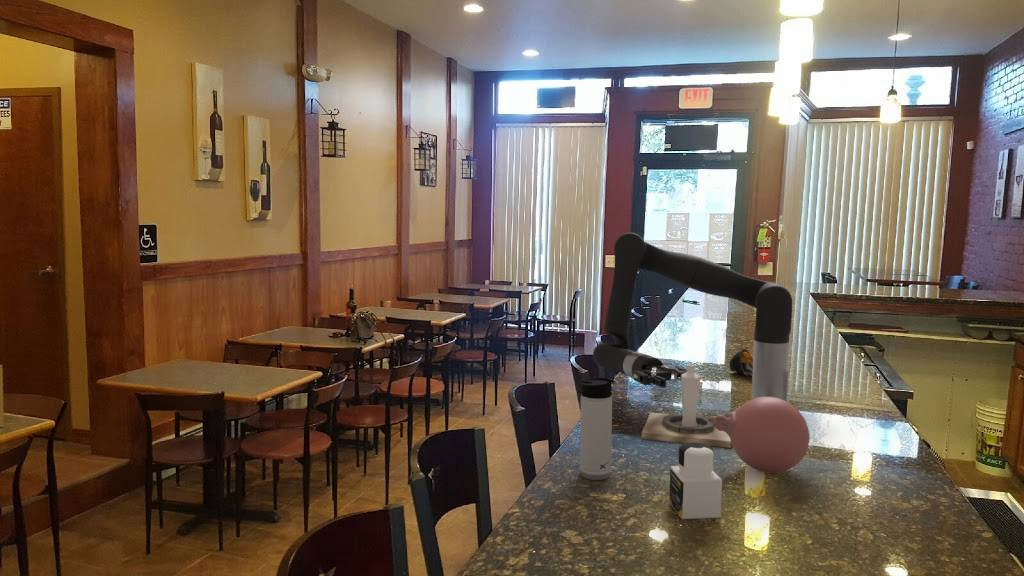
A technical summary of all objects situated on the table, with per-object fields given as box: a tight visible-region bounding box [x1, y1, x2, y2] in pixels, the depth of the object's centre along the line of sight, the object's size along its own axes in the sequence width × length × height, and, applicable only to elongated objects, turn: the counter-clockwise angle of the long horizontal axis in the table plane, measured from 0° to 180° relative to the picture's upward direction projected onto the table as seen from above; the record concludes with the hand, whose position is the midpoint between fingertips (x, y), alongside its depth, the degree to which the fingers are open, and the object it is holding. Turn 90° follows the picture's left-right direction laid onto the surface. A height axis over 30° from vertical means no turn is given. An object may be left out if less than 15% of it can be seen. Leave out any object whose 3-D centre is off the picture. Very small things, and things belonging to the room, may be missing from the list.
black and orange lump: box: [729, 348, 753, 378], centre depth 223 cm, size 9×11×18 cm
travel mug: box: [579, 377, 615, 481], centre depth 139 cm, size 6×7×20 cm
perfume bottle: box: [680, 363, 701, 427], centre depth 166 cm, size 5×4×15 cm
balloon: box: [707, 397, 810, 474], centre depth 143 cm, size 15×20×15 cm
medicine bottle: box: [668, 442, 723, 520], centre depth 123 cm, size 7×7×12 cm
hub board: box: [641, 412, 732, 449], centre depth 167 cm, size 20×17×3 cm
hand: (679, 382), depth 169 cm, fingers open, 8 cm apart
